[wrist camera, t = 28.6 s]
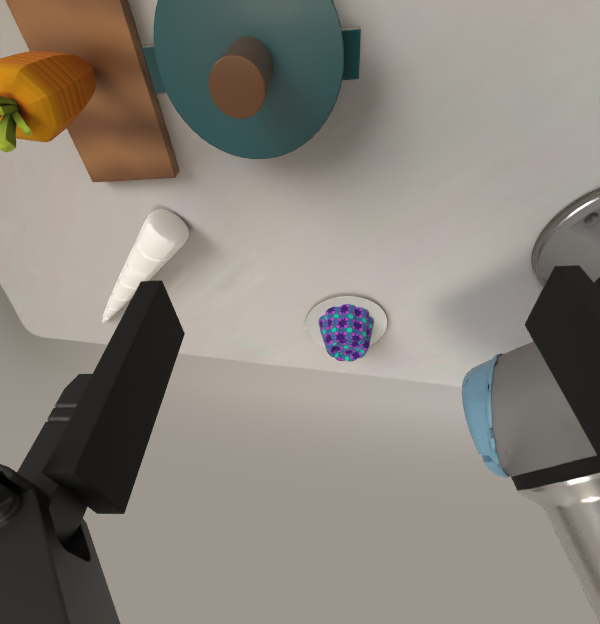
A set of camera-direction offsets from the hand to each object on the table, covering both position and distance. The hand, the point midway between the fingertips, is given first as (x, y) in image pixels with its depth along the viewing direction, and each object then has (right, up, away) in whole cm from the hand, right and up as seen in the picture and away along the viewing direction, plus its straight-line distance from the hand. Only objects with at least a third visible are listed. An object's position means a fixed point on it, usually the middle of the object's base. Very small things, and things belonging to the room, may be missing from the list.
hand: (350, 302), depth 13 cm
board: (-20, +22, +20) cm, 35 cm away
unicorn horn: (-23, +5, +36) cm, 43 cm away
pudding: (+5, -2, +42) cm, 42 cm away
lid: (-6, +19, +15) cm, 25 cm away
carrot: (-20, +21, +19) cm, 34 cm away
